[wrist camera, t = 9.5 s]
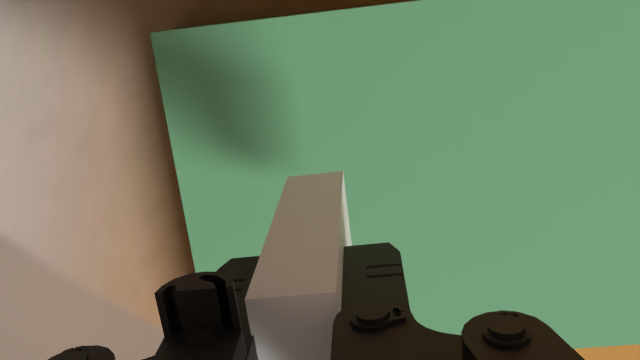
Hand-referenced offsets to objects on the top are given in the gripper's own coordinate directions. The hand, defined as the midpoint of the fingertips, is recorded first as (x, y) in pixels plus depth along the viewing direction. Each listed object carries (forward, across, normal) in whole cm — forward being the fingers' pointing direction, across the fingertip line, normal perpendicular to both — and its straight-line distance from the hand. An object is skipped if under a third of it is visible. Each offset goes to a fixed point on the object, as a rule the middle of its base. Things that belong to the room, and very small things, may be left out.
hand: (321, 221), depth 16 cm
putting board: (+6, +6, -1) cm, 9 cm away
